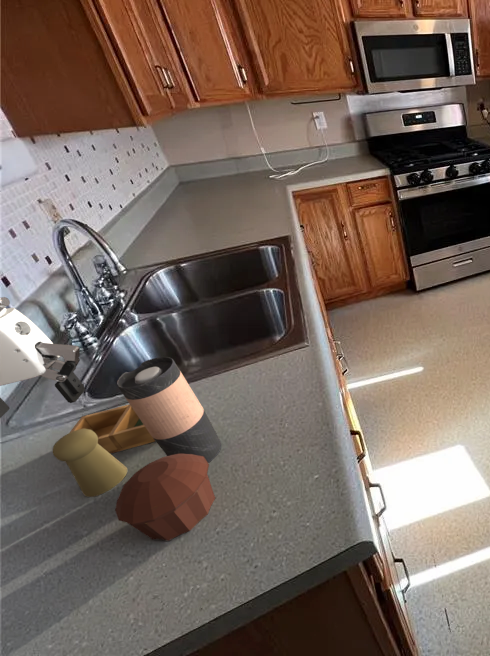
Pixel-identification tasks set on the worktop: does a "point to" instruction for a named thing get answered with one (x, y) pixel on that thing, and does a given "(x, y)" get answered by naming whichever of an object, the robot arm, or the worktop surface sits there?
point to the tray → (116, 428)
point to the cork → (89, 462)
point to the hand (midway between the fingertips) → (40, 406)
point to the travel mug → (169, 409)
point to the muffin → (167, 496)
